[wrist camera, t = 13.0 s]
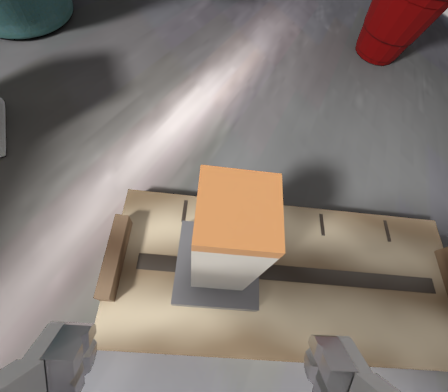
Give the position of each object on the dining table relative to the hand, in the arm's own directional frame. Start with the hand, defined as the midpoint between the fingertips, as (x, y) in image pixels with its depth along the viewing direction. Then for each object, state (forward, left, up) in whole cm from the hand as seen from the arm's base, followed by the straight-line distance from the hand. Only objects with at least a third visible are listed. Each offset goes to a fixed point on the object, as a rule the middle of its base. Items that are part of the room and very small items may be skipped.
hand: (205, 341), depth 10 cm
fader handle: (+5, -1, -9) cm, 10 cm away
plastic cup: (+38, -22, -12) cm, 45 cm away
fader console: (+5, -7, -12) cm, 14 cm away
